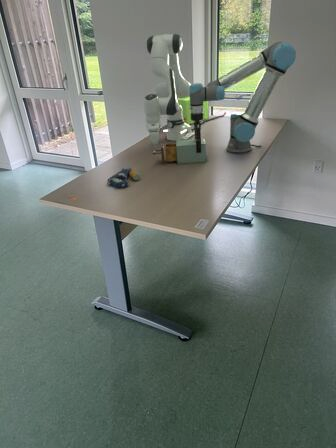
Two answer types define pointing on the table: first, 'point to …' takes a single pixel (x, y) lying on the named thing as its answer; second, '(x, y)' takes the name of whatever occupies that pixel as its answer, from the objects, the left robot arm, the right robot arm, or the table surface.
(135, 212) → the table surface
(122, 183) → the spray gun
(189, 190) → the table surface
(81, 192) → the table surface
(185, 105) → the lime green box
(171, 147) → the drawer
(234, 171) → the table surface
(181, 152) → the green drawer cabinet
